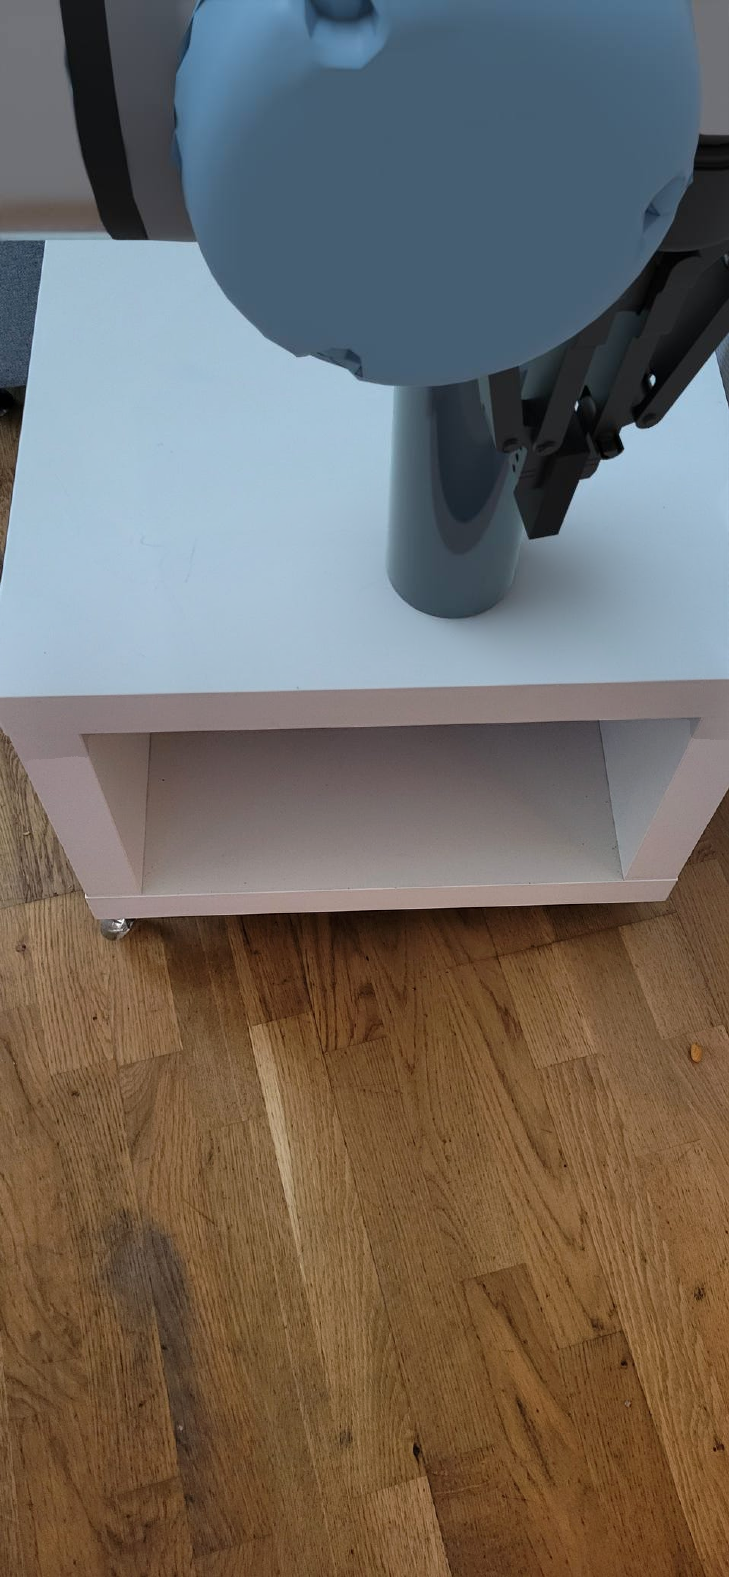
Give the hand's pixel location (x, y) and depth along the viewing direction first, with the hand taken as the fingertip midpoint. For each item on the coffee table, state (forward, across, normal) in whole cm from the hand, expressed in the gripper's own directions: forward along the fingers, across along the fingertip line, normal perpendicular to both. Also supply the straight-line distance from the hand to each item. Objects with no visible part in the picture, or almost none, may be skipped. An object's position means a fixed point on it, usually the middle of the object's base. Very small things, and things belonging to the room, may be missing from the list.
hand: (535, 513), depth 56 cm
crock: (+22, -2, -10) cm, 24 cm away
